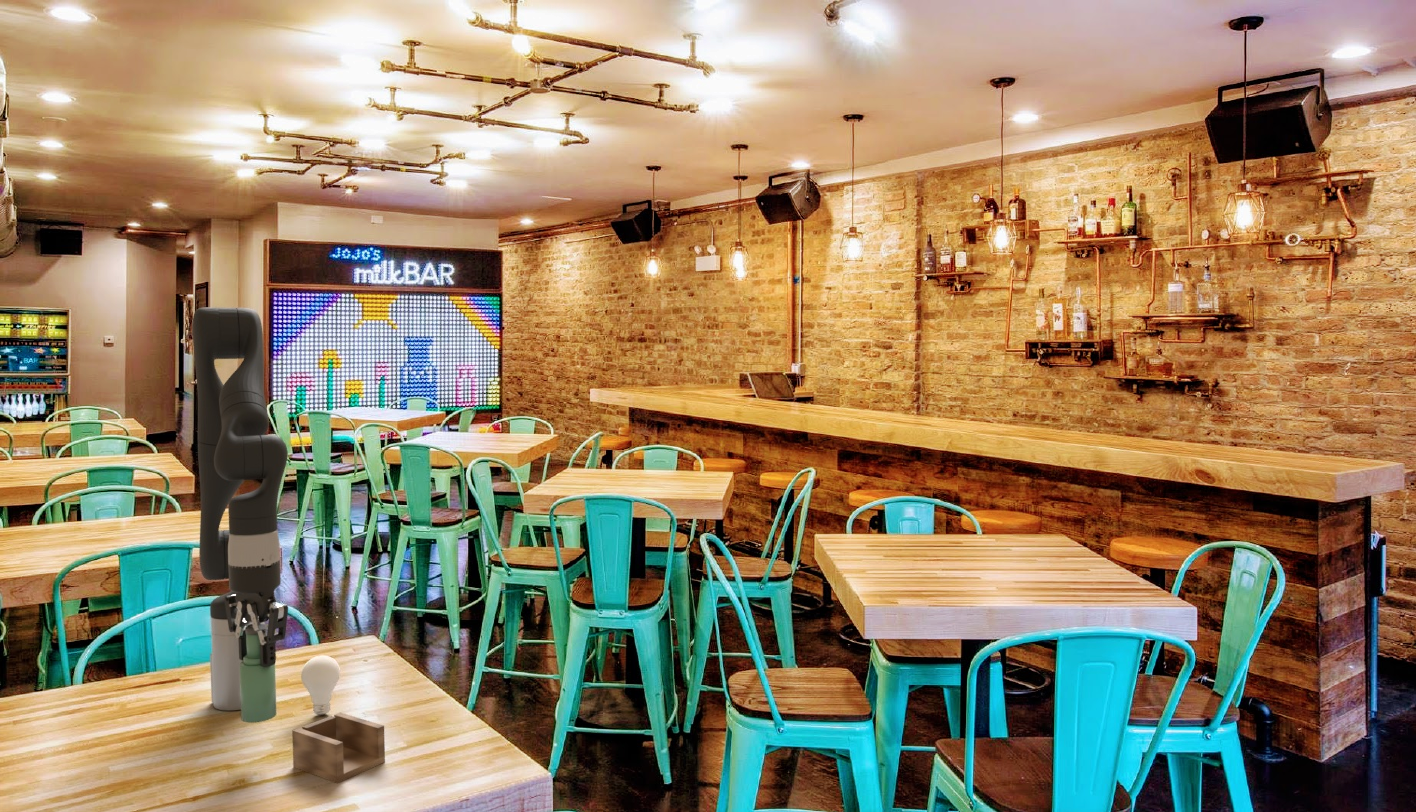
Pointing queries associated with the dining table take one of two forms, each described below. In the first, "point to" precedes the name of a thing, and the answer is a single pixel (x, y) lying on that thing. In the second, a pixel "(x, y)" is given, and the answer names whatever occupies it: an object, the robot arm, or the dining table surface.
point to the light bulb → (320, 681)
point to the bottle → (256, 683)
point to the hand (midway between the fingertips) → (257, 662)
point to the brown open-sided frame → (338, 747)
